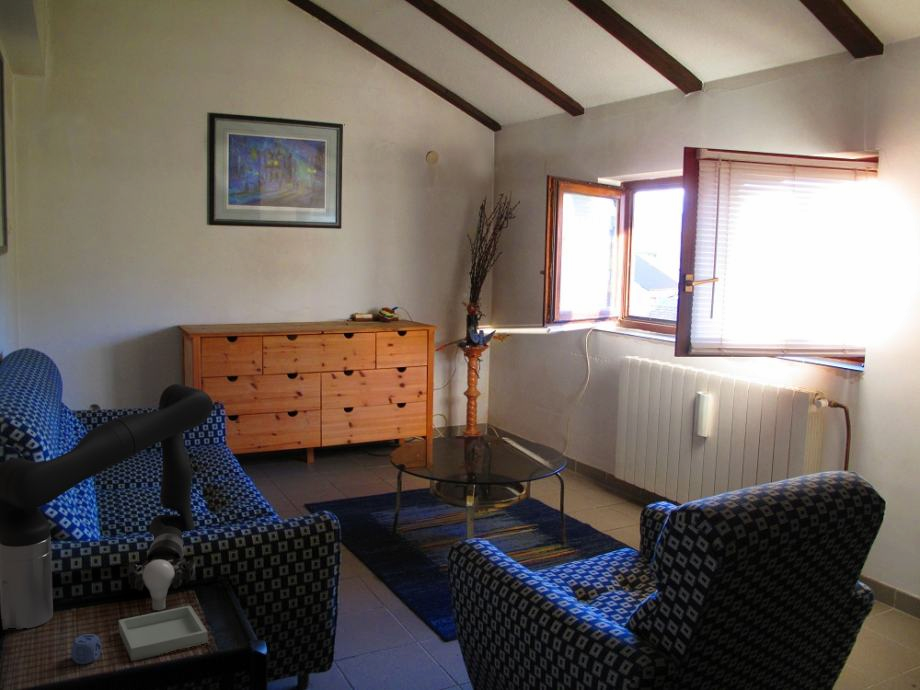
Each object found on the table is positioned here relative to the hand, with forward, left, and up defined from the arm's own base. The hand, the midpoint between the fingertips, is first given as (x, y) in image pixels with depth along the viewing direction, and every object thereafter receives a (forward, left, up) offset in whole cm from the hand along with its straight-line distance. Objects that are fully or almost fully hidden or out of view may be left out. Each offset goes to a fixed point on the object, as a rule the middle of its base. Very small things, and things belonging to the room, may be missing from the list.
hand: (157, 585), depth 171 cm
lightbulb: (+1, +2, -7) cm, 7 cm away
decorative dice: (-15, -12, -7) cm, 20 cm away
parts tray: (-1, -10, -7) cm, 12 cm away
